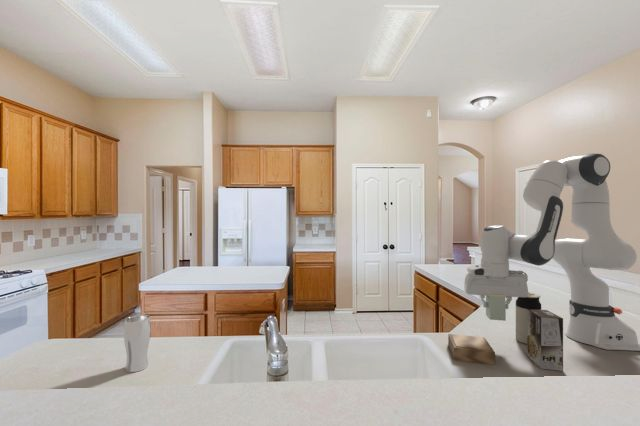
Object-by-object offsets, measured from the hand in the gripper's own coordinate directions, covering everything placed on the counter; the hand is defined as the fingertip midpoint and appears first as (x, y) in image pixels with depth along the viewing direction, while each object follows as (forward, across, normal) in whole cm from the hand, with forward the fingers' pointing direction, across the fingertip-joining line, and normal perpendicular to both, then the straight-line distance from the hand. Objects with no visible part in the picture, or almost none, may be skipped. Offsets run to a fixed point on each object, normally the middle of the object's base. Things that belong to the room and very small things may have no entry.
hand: (495, 307), depth 107 cm
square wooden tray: (+14, +11, +9) cm, 20 cm away
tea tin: (+4, 0, 0) cm, 4 cm away
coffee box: (+14, -11, +9) cm, 21 cm away
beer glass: (+12, +112, +48) cm, 122 cm away
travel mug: (+15, -13, -9) cm, 22 cm away
